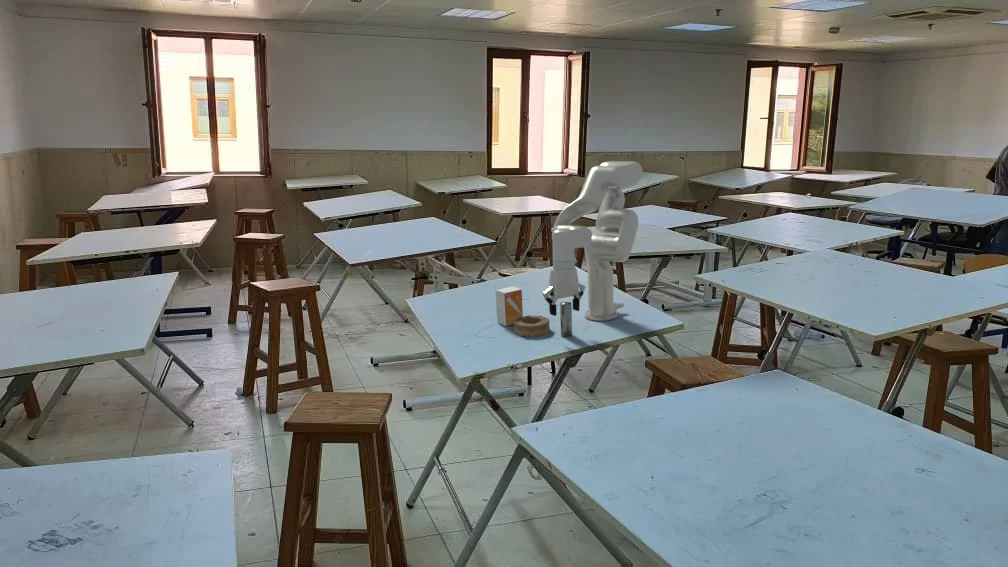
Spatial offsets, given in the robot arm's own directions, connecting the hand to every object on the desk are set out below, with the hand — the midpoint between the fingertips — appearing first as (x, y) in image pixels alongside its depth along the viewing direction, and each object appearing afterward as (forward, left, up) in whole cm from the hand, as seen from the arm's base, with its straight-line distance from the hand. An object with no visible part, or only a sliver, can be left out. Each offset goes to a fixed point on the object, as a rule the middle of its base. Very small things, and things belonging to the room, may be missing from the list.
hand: (564, 312), depth 247 cm
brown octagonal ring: (+6, -12, -9) cm, 16 cm away
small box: (+7, -26, -9) cm, 29 cm away
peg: (-1, 0, -9) cm, 9 cm away
